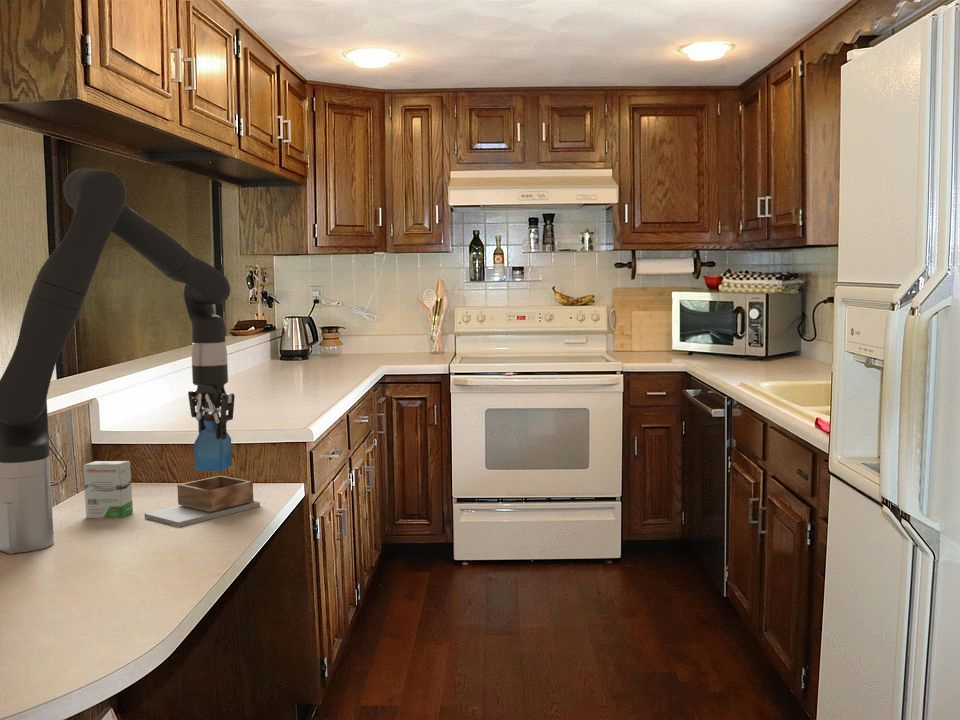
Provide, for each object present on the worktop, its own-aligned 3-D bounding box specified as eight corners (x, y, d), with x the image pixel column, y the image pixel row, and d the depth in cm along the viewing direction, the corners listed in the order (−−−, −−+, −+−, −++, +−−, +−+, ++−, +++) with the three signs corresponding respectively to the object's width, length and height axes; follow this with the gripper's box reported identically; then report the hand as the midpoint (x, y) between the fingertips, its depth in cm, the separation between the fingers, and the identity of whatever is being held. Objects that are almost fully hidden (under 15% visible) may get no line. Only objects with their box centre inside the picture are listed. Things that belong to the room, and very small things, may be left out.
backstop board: (178, 527, 180) (177, 503, 179) (144, 518, 187) (143, 495, 187) (259, 506, 196) (259, 484, 196) (225, 498, 204) (224, 477, 204)
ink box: (134, 512, 192) (131, 459, 191) (122, 518, 187) (120, 464, 186) (96, 512, 193) (94, 459, 192) (84, 518, 188) (81, 464, 187)
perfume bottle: (223, 470, 190) (221, 416, 189) (195, 471, 190) (193, 417, 189) (231, 465, 196) (230, 412, 195) (204, 465, 197) (202, 413, 196)
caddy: (209, 511, 186) (208, 491, 186) (178, 504, 193) (177, 484, 193) (253, 501, 195) (252, 481, 195) (221, 494, 202) (220, 475, 202)
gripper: (244, 362, 190) (246, 439, 192) (204, 360, 199) (207, 433, 200) (215, 365, 184) (218, 444, 186) (175, 362, 193) (178, 437, 194)
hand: (212, 438), depth 193 cm, fingers closed on perfume bottle, 5 cm apart
